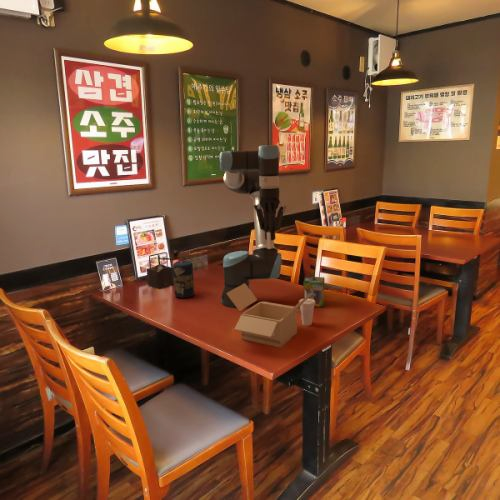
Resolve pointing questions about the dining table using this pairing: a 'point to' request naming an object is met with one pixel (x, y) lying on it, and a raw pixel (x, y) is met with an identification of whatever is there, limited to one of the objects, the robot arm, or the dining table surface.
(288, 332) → the carton
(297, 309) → the flap
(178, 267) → the canister
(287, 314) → the flap
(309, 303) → the smoothie
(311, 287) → the chalk box
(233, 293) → the flap
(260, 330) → the flap
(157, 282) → the dark condiment caddy
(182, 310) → the dining table surface
